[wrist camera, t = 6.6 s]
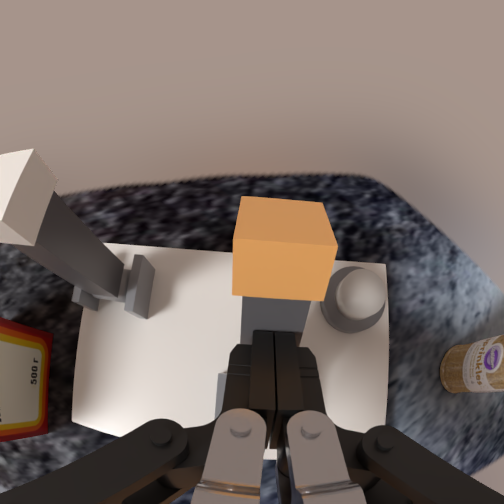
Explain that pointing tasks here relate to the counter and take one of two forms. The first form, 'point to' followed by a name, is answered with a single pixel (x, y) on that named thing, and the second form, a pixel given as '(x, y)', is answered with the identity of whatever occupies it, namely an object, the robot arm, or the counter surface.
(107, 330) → the switch panel
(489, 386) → the sprinkles bottle
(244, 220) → the lever orange
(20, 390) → the baking soda box
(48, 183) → the lever white
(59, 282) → the counter surface
